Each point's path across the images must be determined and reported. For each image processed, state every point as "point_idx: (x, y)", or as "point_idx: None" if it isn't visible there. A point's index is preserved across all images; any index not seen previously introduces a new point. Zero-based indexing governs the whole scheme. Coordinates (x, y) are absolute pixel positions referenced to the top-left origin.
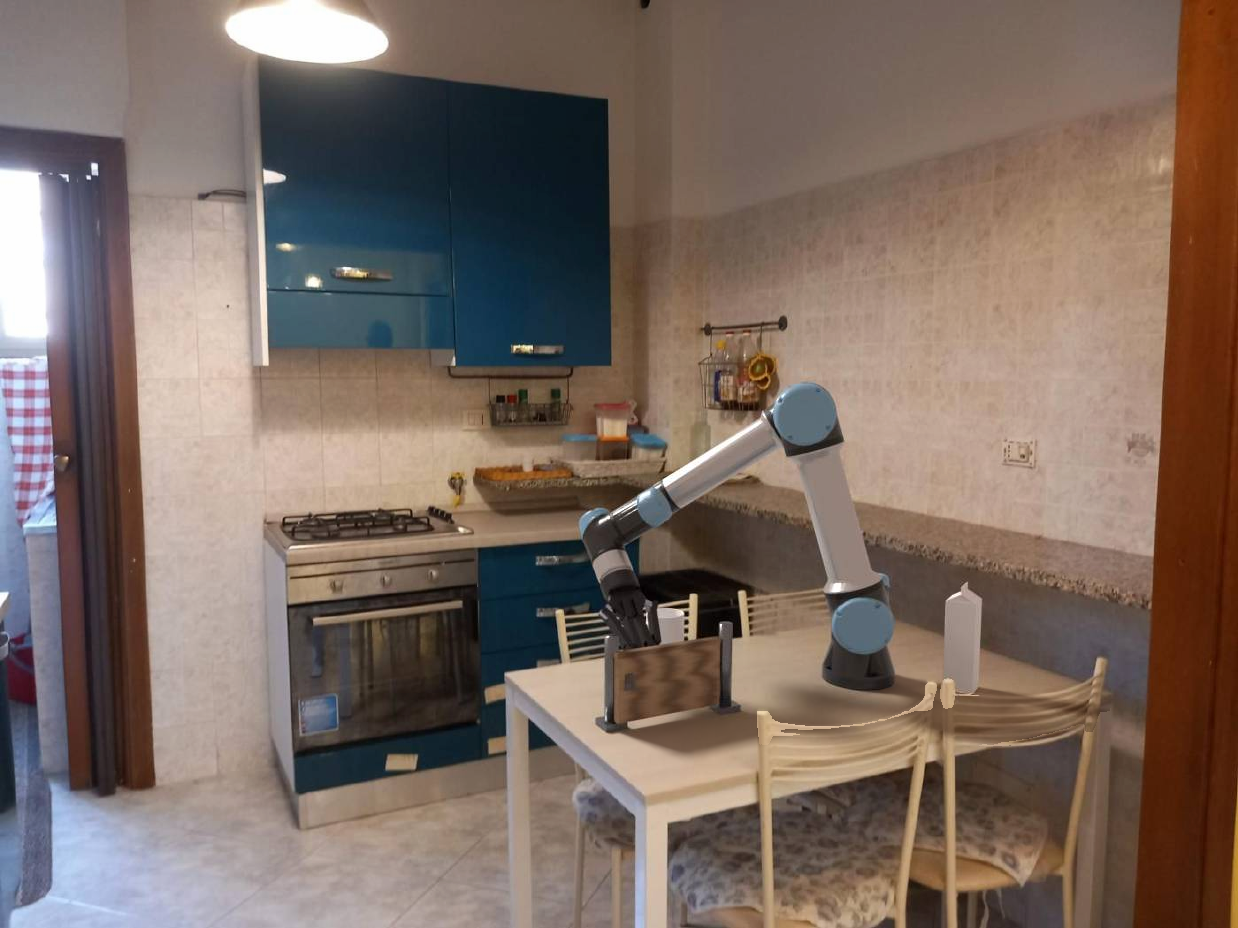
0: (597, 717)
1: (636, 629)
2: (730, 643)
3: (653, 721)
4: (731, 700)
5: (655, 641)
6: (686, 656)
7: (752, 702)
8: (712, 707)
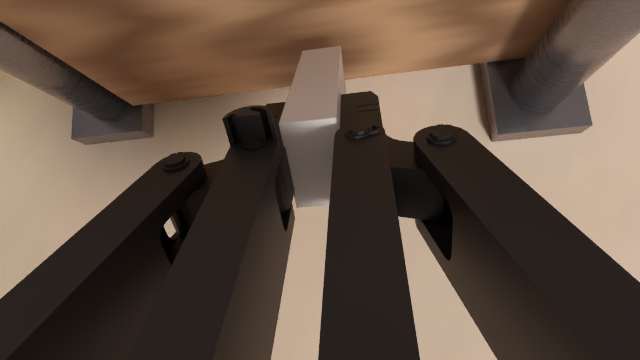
0: (582, 125)
1: (330, 231)
2: None
3: (373, 88)
4: (76, 111)
5: (204, 172)
6: None
7: (18, 127)
8: (150, 113)
